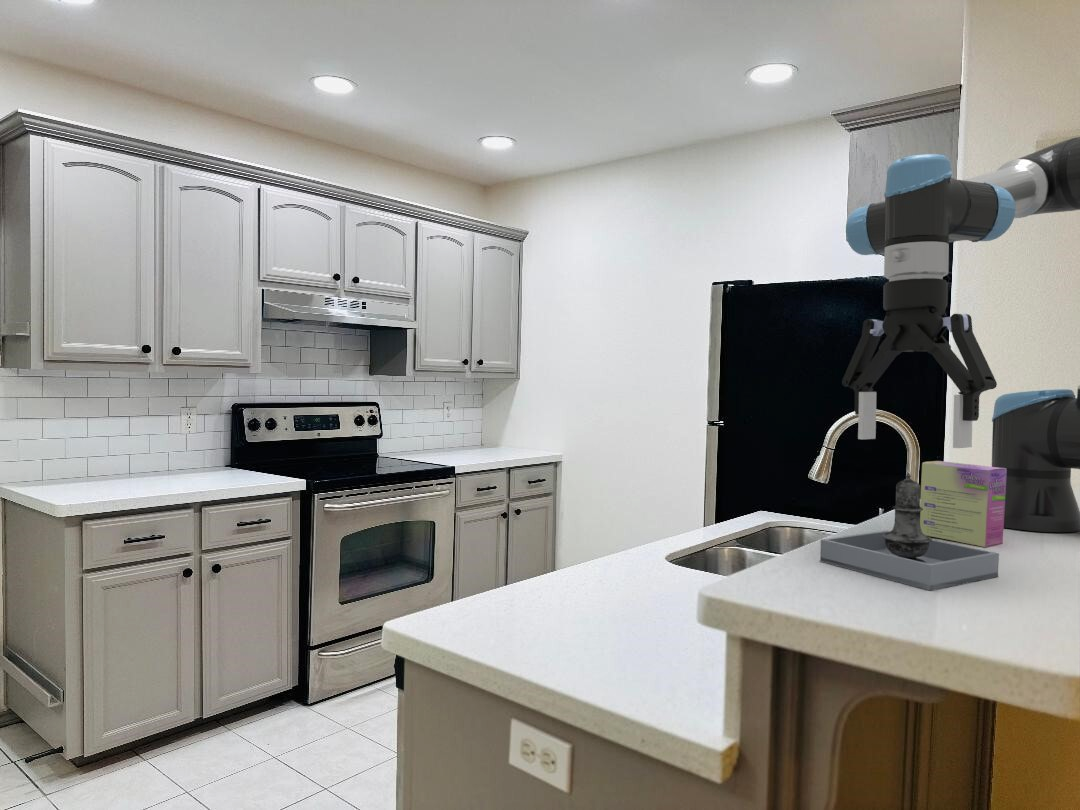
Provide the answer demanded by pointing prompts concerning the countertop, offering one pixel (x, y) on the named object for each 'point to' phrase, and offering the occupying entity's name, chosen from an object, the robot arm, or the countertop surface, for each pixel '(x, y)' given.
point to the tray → (910, 561)
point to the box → (963, 502)
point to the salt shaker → (907, 523)
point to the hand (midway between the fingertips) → (911, 443)
